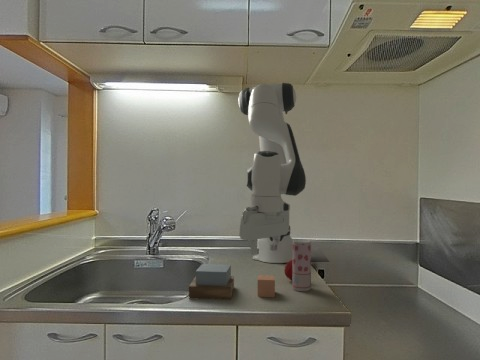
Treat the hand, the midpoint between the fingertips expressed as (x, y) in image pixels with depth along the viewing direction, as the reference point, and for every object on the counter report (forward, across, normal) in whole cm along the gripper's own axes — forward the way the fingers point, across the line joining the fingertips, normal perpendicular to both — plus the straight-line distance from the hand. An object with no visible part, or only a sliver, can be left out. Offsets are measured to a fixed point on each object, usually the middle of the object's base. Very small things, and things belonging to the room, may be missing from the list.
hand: (264, 252), depth 116 cm
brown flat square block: (+13, -8, +13) cm, 20 cm away
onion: (+12, +18, +1) cm, 21 cm away
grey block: (+9, -8, +12) cm, 18 cm away
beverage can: (+12, +12, -6) cm, 18 cm away
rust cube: (+12, +1, 0) cm, 13 cm away
